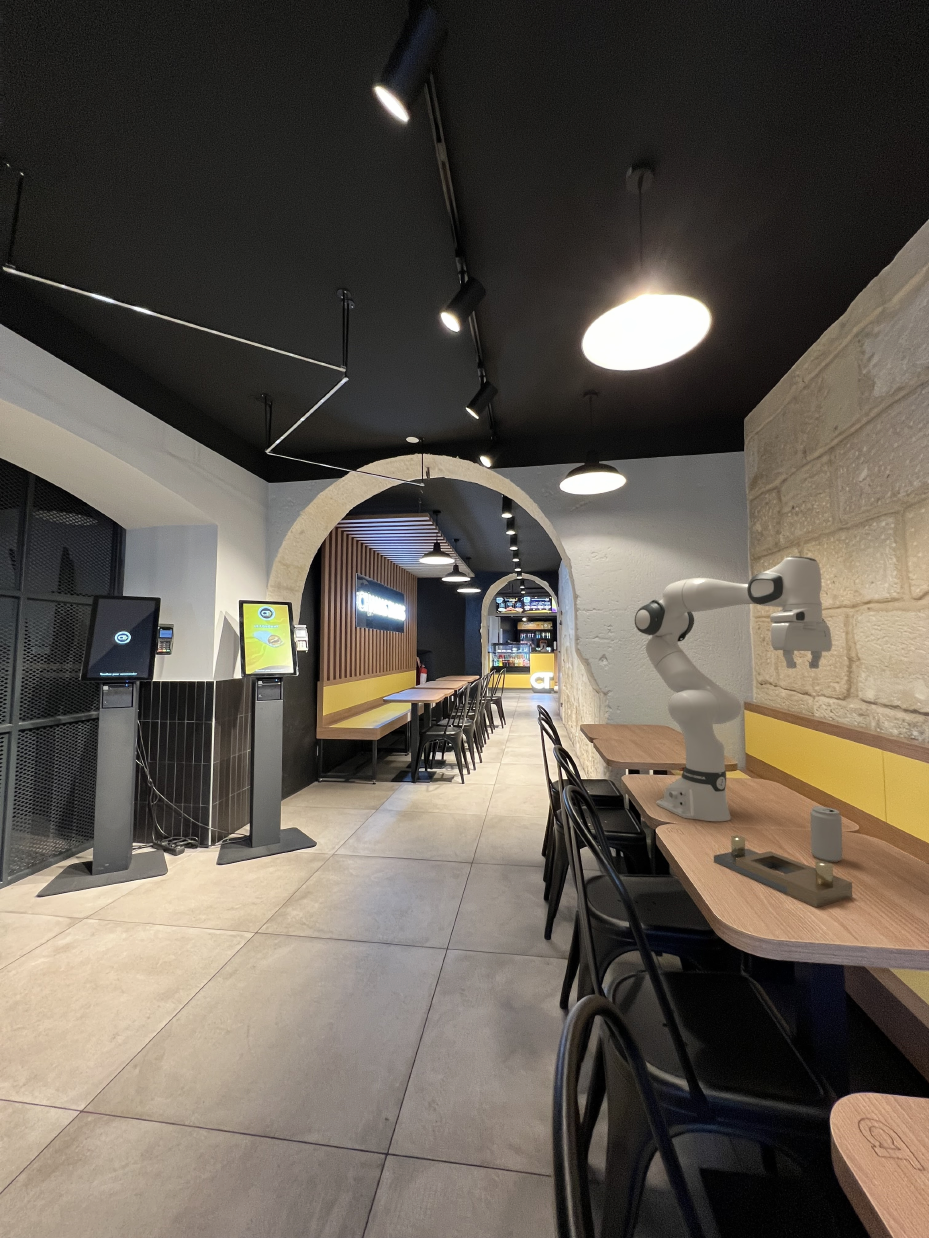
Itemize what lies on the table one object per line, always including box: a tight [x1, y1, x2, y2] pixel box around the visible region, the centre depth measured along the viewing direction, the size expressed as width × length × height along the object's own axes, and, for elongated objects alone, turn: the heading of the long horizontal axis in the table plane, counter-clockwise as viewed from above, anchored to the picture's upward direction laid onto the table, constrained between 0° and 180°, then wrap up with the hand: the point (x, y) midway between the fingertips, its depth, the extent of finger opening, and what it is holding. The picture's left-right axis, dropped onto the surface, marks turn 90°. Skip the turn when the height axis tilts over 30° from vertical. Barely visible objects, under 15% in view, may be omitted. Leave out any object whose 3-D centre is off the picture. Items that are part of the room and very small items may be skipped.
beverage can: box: [809, 805, 843, 863], centre depth 129 cm, size 6×6×12 cm
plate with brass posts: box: [713, 835, 853, 909], centre depth 116 cm, size 24×12×7 cm, turn 25°
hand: (802, 668), depth 136 cm, fingers open, 8 cm apart
